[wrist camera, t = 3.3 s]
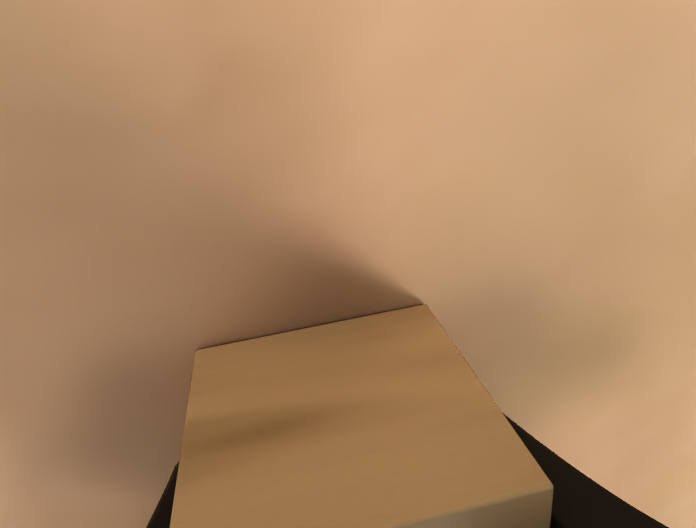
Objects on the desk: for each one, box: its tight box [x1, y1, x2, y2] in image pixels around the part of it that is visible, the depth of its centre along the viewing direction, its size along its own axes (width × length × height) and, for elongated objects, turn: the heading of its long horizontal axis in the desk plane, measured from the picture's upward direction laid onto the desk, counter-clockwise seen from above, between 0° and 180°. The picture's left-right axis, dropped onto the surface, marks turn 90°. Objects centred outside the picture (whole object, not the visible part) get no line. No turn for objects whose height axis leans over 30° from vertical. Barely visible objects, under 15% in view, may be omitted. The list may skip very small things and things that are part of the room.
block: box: [170, 304, 554, 528], centre depth 9 cm, size 5×5×5 cm
